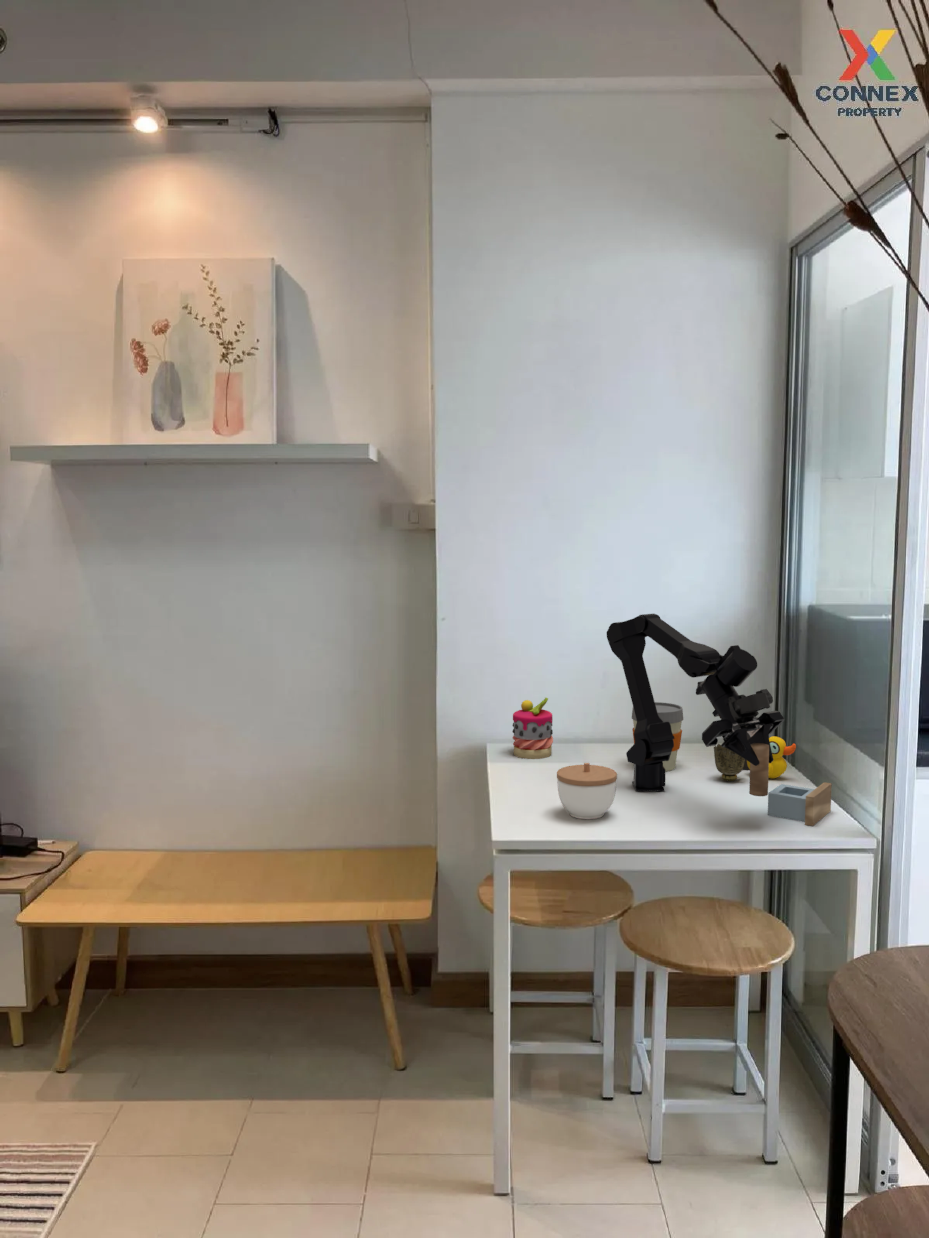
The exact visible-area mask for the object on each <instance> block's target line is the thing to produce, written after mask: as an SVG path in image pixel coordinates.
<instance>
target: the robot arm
mask: <svg viewBox="0 0 929 1238" xmlns="http://www.w3.org/2000/svg"><path fill="white" fill-rule="evenodd" d="M647 637H648V638H650V639H651V640H652V641H654V642H655V643H656V644H657V645H659V646H660V647H662V648H663V649H664V650H666V651H667V652H668V653H670V654H671V655H672V656H674V657H675V659H677V663H678V667H680V668H681V669H682V671H683V672H684V673H685V674H686V675H687V676H688V677H689V678H690V677H691V678H700V677H701V678H702V677H705V678H704V680H701V681H698V682H697V686H696V689H695V695H696V696H701V695H705V696H706V698H708V701H709V702H710V704H711V705H712V707H713V711H712V713H711V714H712V716H713V717H714V718H716V717H719V718H720V719H717V720H714V721H712V722H711V723H710V724H709V725H708V726H707V728H705V730H704V731H703V732H702V733H701V740H702V742H703V743H704V746H706V748H708V747H715V745H716V746H717V745H718V741H719V739H718V738H720V737H722V740H723V742H722V743H721V744H720V745H721V746H722V747H725V748H727V749H729V750H731V751H733V752H734V753H736V754H738V755H739V756H741V757H742V758H744V759H746V760H747V761H749V762H750V763H752V764H753V765H755V766H758V765H759V760H758V758H757V756H756V754H755V752H754V750H753V749H752V747H751V745H750V744H753V743H763V744H767V745H769V763H771V762H772V761H773V755H772V751H771V746H770V742H769V738H770V735H772V733H773V732H774V731H775V730H776V729H777V728H778V727H779V726H780V725H781V724H782V723H784V721H785V718H784V716H783V714H782V713H781V712H780V711H778V710H772V711H771V710H770V711H765V712H763V713H762V714H761V715H760V716H758V715H759V711H761V710H765V709H770V708H771V704H773V702H774V698H773V696H772V694H771V693H770V691H769V690H768V689H767V688H764V689H760V690H758V691H757V690H756V692H755V693H754V694H750V695H745V694H740V695H739V693H738V692H737V690H736V689H735V688H738V687H741V685H743V683H745V681H746V680H747V679H748V678H749V677H750V676H751V675H752V674H753V673H754V672H755V670H756V669H758V661H757V659H756V658H755V656H754V655H752V654H751V653H749V652H748V651H747V650H746V649H742V648H741V647H740V646H739V644H736V645H730V646H729V648H728V649H727V650H726V652H725V653H724V655H721V654H720V653H719V651H718V650H717V649H715V648H714V647H711V646H708V645H706V644H703V643H700V642H695V641H693V640H691V639H689V638H688V637H687V636H685V635H684V634H683V633H681V632H679V631H678V630H677V629H675V628H674V627H673V626H671V625H670V624H669V623H667V622H666V621H665V620H663V619H662V618H661V616H660V615H658V614H656V613H646V614H639V615H638V616H636V617H633V618H631V619H628V620H624V621H617V622H615V621H614V622H612V623H611V624H609V626H608V629H607V631H606V639H607V642H608V645H609V647H610V650H611V652H612V653H613V654H614V655H615V656H616V657H617V658H618V659H619V661H620V662H621V665H622V669H623V673H624V675H625V676H624V677H625V680H626V684H627V687H628V691H629V692H628V693H629V695H630V700H631V704H632V709H633V708H634V711H635V715H636V719H637V724H636V727H635V731H634V738H633V742H634V741H635V744H634V743H633V745H632V746H631V747H630V748H629V749H628V750H627V751H626V753H625V755H626V759H627V762H628V763H629V764H633V781H631V784H632V786H633V788H634V791H635V792H665V786H666V771H665V768H664V767H663V761H669V758H670V755H671V752H672V749H673V748H674V741H673V739H675V738H674V736H673V734H672V730H671V725H670V723H669V722H663V721H662V720H661V719H660V717H659V716H658V713H657V709H656V705H655V702H656V701H655V698H654V695H653V690H652V687H651V684H650V679H649V675H648V672H647V668H646V664H645V661H644V657H643V656H644V651H645V648H646V644H647V643H646V641H647V640H646V638H647ZM754 717H759V718H758V719H757V720H754V721H753V718H754ZM747 732H748V733H749V735H750V737H751V738H750V739H749V740H747Z"/></svg>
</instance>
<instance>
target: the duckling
mask: <svg viewBox="0 0 929 1238" xmlns="http://www.w3.org/2000/svg"><path fill="white" fill-rule="evenodd" d="M769 742H770V746H771V751H772V755H773V761H772V762H771V763H769V771H768V779H777V778H779V777H780V776H782V775H783V774H784V773H785V772H786V771H787V768H788V763H787V760H786V759H785V758H784V757H783V756H790V755H793V754H794V753H795V751H796V748H797V745H796V743H792V745H789V746H787V744H786V741H785V740H784V739H783V738H781V737H779V736H777V735H776V736H774V735H773V736H769ZM747 765H748V768H749V769H750V762H749V761H747Z"/></svg>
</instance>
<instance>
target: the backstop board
mask: <svg viewBox="0 0 929 1238" xmlns="http://www.w3.org/2000/svg"><path fill="white" fill-rule="evenodd" d="M832 785H833V784H832V783H831V782H825V781H824V782H822V783H821V784H820V785H818V786H817V787H816V788H814V789H815V790H813V791H812V792H811V793H809V794H808V795H807V796H806V805H805V822H804V825H805V826H810V827H814V826H815V825H816V824H817V823H819V822H820V820H822V819H823V818H825V816H827V815H828V814H829V813H830V812H831V810H832Z"/></svg>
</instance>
